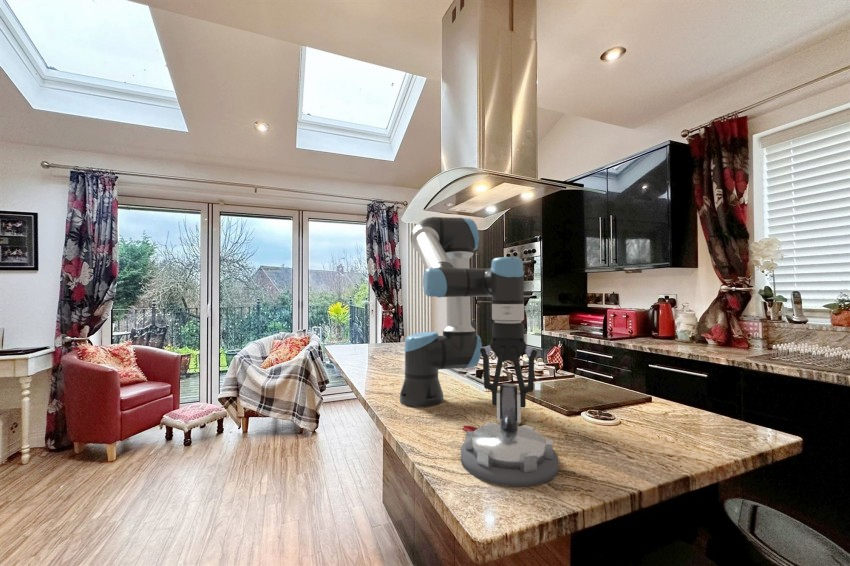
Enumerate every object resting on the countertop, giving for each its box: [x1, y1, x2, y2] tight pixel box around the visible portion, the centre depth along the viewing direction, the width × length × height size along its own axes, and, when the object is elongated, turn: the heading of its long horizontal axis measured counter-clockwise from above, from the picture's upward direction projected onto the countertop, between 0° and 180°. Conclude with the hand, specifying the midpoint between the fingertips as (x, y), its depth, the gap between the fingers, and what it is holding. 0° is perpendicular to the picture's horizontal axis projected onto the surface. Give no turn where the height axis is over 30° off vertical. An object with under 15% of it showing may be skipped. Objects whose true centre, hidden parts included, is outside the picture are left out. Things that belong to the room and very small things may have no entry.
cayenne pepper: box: [461, 425, 479, 433], centre depth 96 cm, size 12×5×2 cm, turn 20°
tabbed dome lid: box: [464, 382, 554, 472], centre depth 80 cm, size 18×19×13 cm
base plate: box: [460, 442, 559, 488], centre depth 79 cm, size 21×21×2 cm
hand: (508, 419), depth 85 cm, fingers closed on tabbed dome lid, 4 cm apart
